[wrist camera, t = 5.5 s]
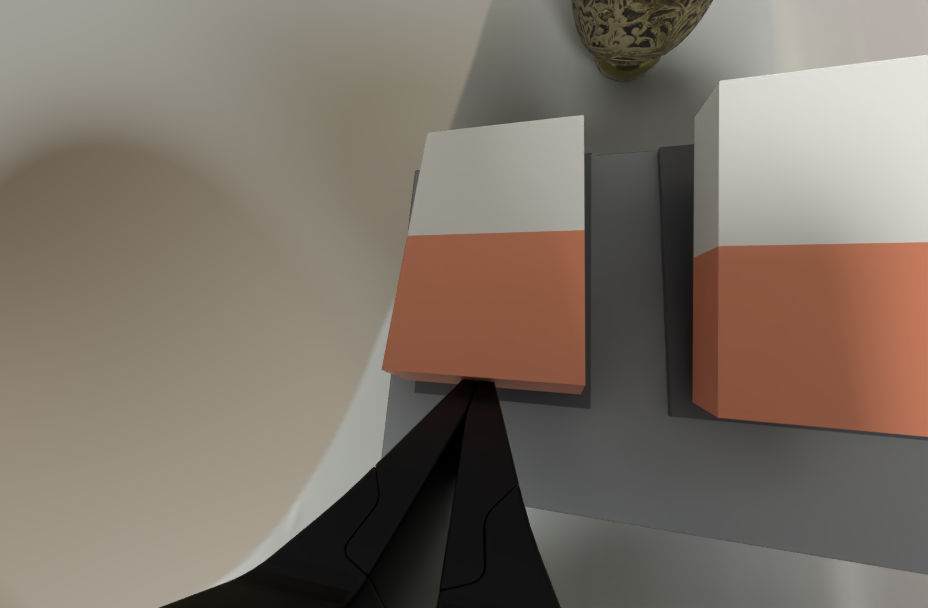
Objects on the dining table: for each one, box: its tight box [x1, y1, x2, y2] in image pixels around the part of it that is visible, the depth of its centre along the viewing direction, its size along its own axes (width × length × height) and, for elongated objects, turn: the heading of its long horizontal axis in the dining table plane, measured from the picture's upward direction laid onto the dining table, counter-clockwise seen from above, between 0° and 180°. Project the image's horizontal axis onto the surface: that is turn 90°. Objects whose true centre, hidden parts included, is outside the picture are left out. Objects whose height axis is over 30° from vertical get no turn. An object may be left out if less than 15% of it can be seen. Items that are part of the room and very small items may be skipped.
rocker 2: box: [692, 55, 928, 437], centre depth 9 cm, size 8×5×2 cm, turn 176°
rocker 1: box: [382, 115, 585, 394], centre depth 11 cm, size 8×5×2 cm, turn 176°
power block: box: [381, 145, 928, 575], centre depth 14 cm, size 12×16×7 cm
